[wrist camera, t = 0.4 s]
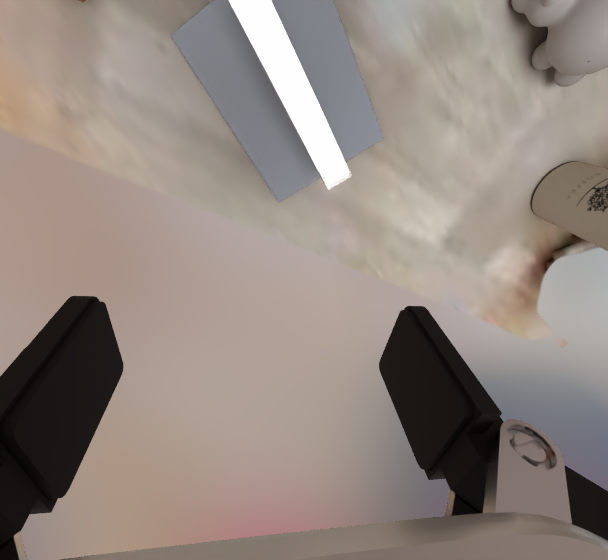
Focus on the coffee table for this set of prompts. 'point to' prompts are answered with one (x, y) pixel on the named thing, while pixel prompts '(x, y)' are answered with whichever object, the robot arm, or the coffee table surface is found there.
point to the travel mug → (576, 201)
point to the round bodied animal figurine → (569, 36)
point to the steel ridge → (291, 86)
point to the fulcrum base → (262, 98)
